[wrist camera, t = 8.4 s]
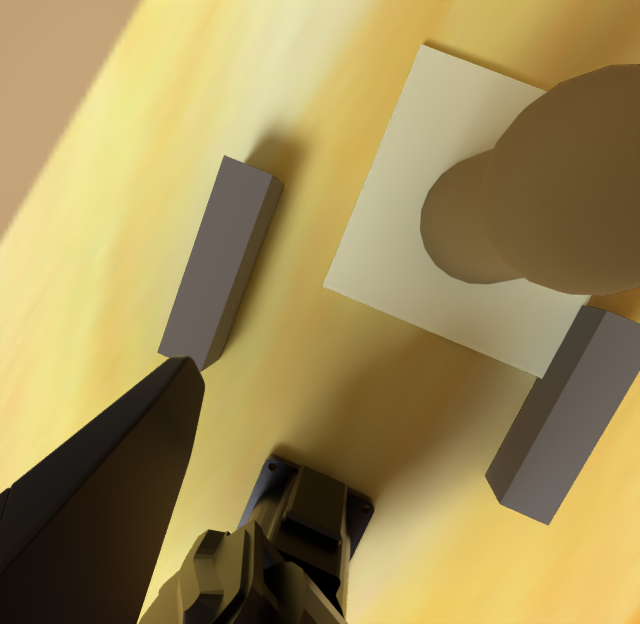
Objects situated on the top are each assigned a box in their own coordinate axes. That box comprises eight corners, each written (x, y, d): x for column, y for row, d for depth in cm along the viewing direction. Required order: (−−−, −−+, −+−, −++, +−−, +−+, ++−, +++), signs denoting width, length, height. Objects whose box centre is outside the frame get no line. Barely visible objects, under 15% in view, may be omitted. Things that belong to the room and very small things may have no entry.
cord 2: (219, 359, 22) (200, 371, 19) (180, 342, 22) (157, 352, 19) (283, 184, 20) (272, 174, 18) (241, 166, 20) (224, 155, 18)
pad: (542, 377, 20) (545, 380, 19) (323, 285, 20) (322, 286, 20) (669, 142, 18) (676, 140, 17) (419, 48, 18) (421, 44, 18)
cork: (407, 272, 19) (456, 293, 9) (435, 145, 18) (529, -12, 8) (533, 295, 19) (754, 350, 8) (568, 165, 18) (875, 28, 7)
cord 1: (527, 494, 21) (548, 525, 18) (485, 475, 21) (499, 504, 18) (625, 323, 19) (661, 332, 17) (577, 303, 19) (607, 310, 17)
